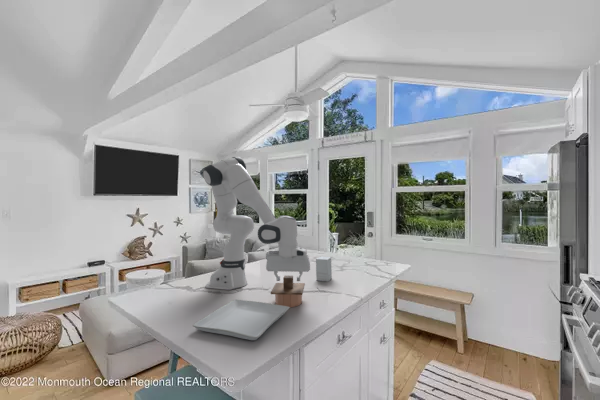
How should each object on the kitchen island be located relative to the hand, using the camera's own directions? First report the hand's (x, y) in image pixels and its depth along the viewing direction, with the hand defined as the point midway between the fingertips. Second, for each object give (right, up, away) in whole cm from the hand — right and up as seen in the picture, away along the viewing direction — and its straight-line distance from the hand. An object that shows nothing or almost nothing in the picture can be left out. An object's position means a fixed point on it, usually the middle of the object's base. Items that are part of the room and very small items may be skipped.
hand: (288, 280), depth 131 cm
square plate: (-16, -11, -21) cm, 29 cm away
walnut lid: (0, -4, 0) cm, 4 cm away
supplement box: (+19, -10, +35) cm, 42 cm away
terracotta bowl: (0, -10, 0) cm, 10 cm away
